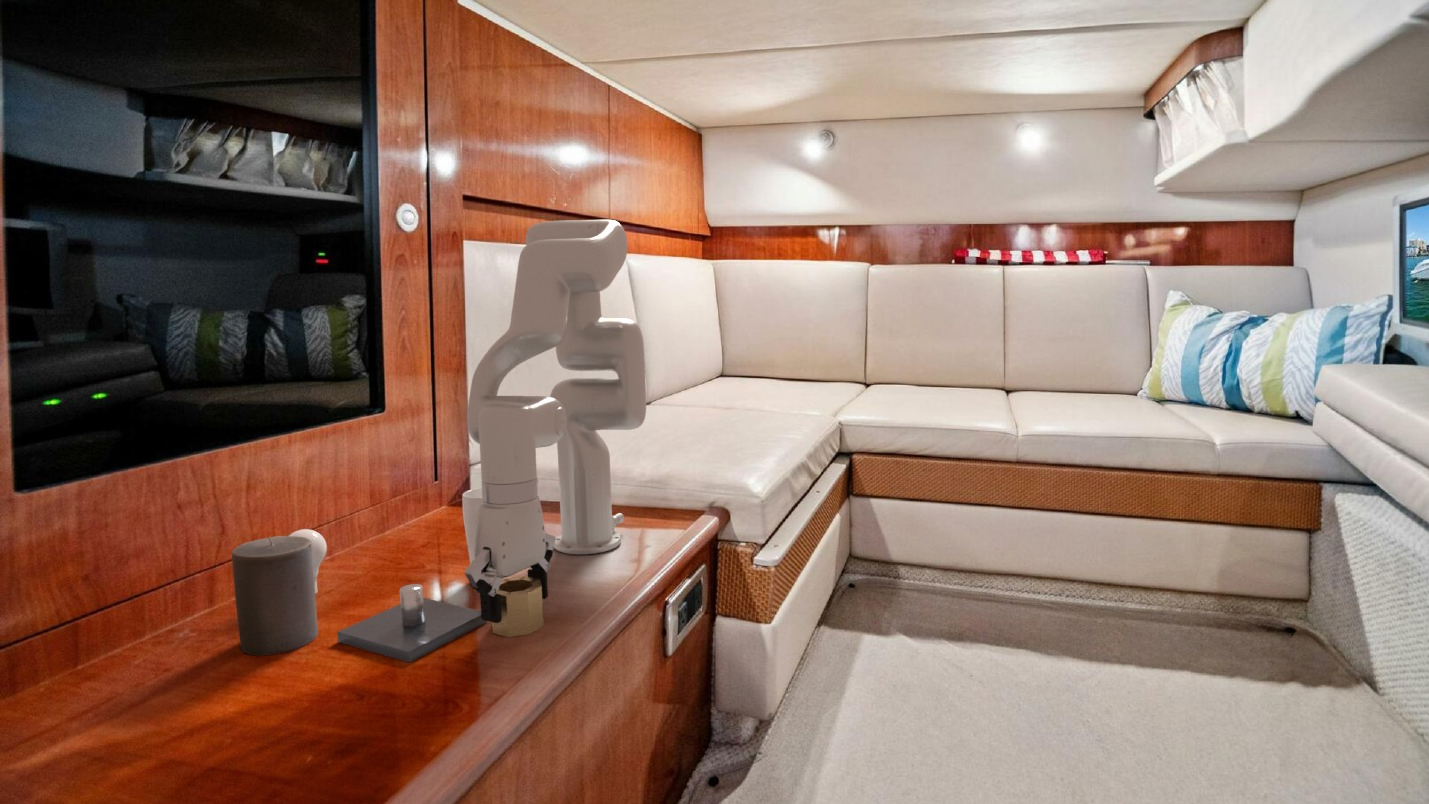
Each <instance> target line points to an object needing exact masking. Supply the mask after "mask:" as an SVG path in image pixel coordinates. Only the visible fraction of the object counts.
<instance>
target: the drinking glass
mask: <svg viewBox="0 0 1429 804" xmlns="http://www.w3.org/2000/svg"><path fill="white" fill-rule="evenodd" d="M461 497H462V499H461V500H462V501H461V502H462V520H463V524H464V526H463V527H464V531H465V537H466V545H467V550H468V556H469V563H470V564H471V563H472V562H473V560H474V559H475V533H476V521H477V514H478V509H479V506H480V505H482V504H483V498H482V487H480V488H474V489H470V490H467V491H464V492H463V493H462V495H461ZM470 564H469V565H470ZM493 571H494V572H496V570H493ZM481 576H482V574H481ZM492 581H493V578H492V577H490V579H489V581H488V584H489V585H491V583H492Z"/></svg>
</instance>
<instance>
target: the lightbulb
mask: <svg viewBox="0 0 1429 804" xmlns="http://www.w3.org/2000/svg"><path fill="white" fill-rule="evenodd" d="M288 536H297V537H305V538H307V539H309V540H311V541H312V543H311V548H312V562H313V574H314V586H315V595H316V594H317V593H318V592H319V591H318V581H317V580H318V578H317V577H318V575H319V571H320V570H319V569H320V566H321V564H322V562H323V561H324V559H325V557H326V555H327V549H328V547H327V542H326V539H325V538H324V536H323V535H322V534H320V533H319V532H318V531H316V530H313V529H311V528H309V529H307V528H302V529H298V530H295V531H293V532H292V533H290V534H289V535H288Z"/></svg>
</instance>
